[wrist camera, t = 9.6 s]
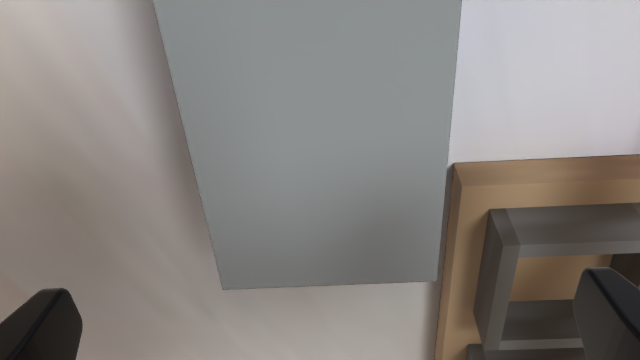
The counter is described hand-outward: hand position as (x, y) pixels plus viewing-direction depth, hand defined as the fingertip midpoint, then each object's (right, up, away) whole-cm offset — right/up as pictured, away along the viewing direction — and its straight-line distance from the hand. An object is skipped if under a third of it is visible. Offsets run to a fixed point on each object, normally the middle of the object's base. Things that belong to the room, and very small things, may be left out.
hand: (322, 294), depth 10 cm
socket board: (+10, -4, +16) cm, 19 cm away
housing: (0, +6, +9) cm, 11 cm away
